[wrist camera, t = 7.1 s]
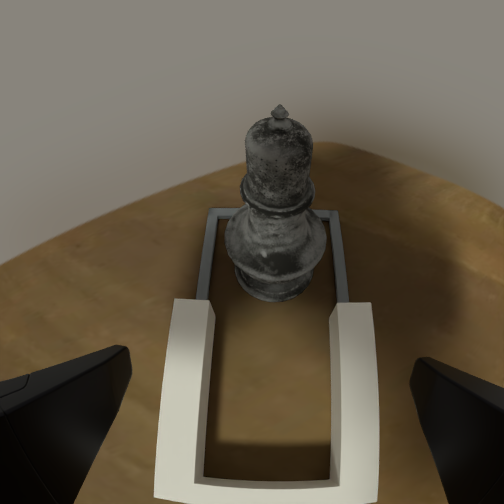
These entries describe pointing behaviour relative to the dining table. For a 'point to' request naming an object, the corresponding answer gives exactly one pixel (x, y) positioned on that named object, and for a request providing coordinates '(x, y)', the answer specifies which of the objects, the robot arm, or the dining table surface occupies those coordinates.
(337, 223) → the frame
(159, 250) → the dining table surface
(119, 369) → the robot arm
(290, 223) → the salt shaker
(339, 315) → the u-shaped bracket
